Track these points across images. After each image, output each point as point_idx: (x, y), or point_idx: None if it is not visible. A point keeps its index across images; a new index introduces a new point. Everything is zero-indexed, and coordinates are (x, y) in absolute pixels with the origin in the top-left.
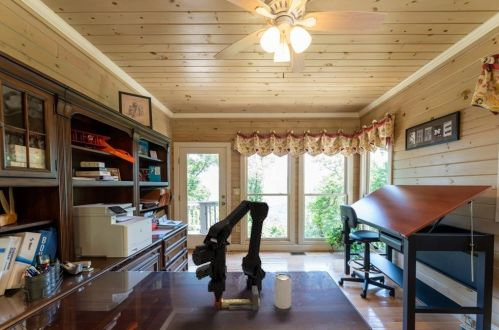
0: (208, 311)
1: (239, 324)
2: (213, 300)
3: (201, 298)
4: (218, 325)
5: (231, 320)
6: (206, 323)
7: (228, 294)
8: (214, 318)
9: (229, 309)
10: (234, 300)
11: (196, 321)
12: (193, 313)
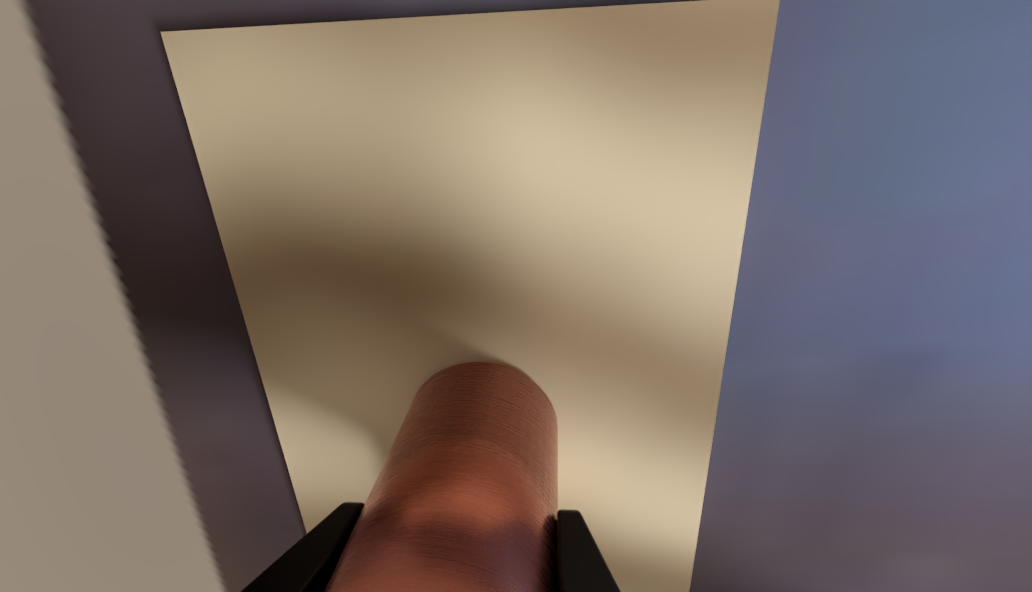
0: None
1: (236, 584)
2: (427, 441)
3: (920, 74)
4: (163, 414)
5: (283, 529)
6: (156, 277)
7: (909, 515)
8: None
9: None
10: None
11: (156, 121)
12: (360, 11)
